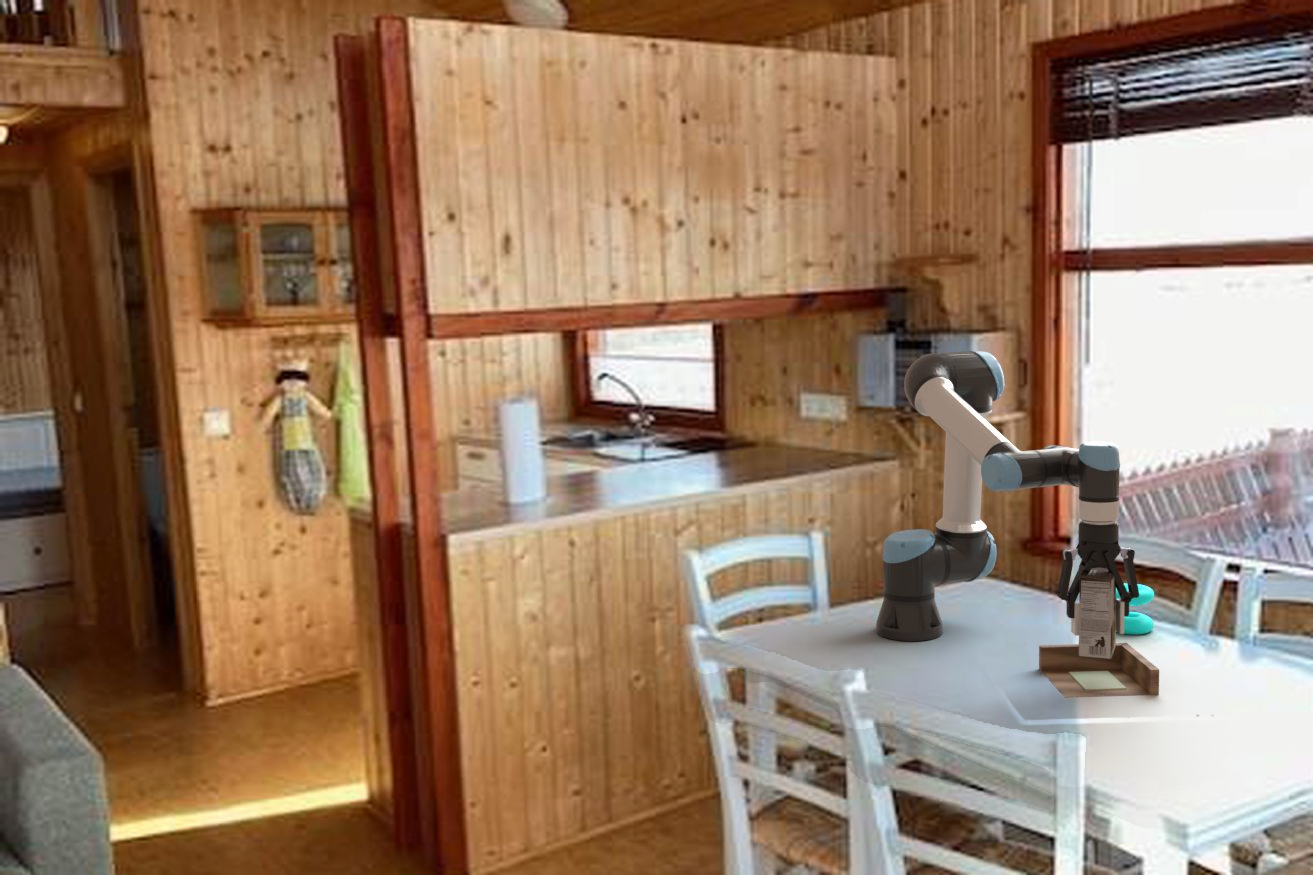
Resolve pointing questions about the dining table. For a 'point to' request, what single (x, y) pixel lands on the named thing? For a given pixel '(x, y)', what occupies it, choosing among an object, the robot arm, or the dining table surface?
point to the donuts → (1138, 621)
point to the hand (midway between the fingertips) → (1097, 632)
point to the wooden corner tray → (1122, 666)
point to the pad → (1097, 680)
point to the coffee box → (1097, 614)
